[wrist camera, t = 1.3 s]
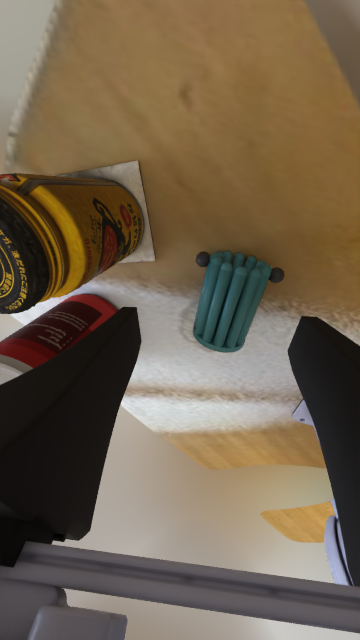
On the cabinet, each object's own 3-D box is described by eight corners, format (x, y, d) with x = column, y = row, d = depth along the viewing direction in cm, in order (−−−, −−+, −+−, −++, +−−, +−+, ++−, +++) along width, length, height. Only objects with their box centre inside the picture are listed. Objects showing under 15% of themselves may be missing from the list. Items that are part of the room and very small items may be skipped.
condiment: (156, 260, 20) (75, 334, 10) (74, 266, 22) (-65, 333, 11) (139, 160, 16) (-19, 110, 6) (43, 178, 18) (-197, 163, 8)
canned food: (100, 360, 28) (33, 446, 18) (51, 312, 25) (-54, 382, 16) (143, 336, 24) (88, 427, 15) (92, 277, 22) (-11, 342, 13)
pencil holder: (252, 330, 21) (257, 361, 17) (187, 314, 22) (177, 341, 18) (281, 260, 18) (294, 280, 14) (201, 243, 18) (192, 257, 14)
